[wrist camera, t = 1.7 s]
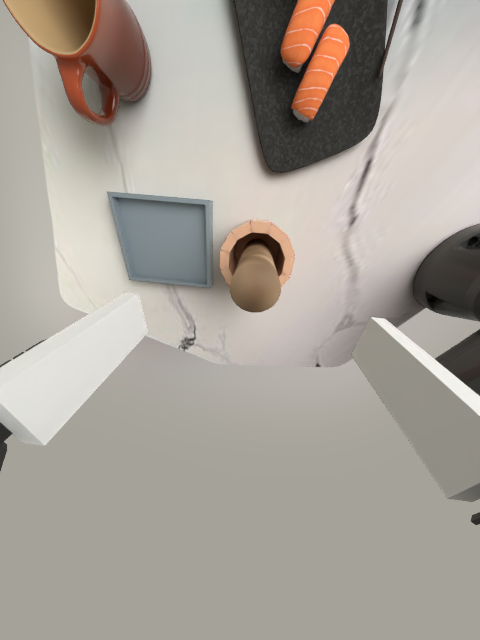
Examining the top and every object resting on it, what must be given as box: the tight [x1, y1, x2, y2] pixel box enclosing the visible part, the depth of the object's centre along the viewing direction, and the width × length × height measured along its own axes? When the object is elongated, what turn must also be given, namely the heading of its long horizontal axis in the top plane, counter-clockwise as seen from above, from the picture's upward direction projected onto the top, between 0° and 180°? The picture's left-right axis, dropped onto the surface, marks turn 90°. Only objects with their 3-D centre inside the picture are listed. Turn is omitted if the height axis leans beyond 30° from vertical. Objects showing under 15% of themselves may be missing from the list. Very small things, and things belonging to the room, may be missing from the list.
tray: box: [107, 192, 213, 288], centre depth 32 cm, size 16×14×2 cm
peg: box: [230, 238, 281, 312], centre depth 23 cm, size 4×4×18 cm
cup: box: [220, 219, 295, 287], centre depth 28 cm, size 10×10×9 cm
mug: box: [3, 0, 151, 126], centre depth 18 cm, size 12×9×10 cm
